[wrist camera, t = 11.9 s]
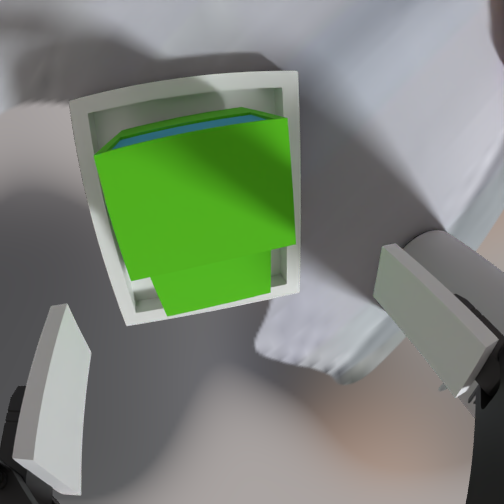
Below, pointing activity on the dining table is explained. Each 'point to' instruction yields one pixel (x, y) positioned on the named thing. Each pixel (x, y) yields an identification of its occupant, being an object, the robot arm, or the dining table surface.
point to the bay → (168, 107)
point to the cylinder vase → (462, 279)
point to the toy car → (201, 204)
